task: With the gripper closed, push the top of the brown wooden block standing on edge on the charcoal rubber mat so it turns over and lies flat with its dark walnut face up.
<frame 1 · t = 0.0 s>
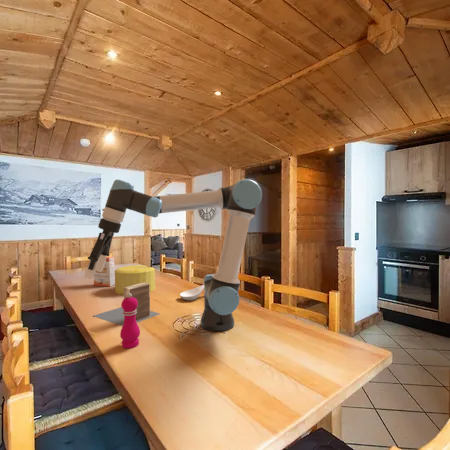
hand: (93, 274, 108), 28 cm above the table, tool tilted 20°, fingers open, 13 cm apart
cheese: (135, 290, 196), on the table
pepper mill: (130, 345, 111), on the table
spoon rest: (198, 298, 175), on the table
cracker box: (104, 285, 209), on the table
brown wooden block: (137, 318, 138), resting on mat
mat: (126, 315, 144), on the table
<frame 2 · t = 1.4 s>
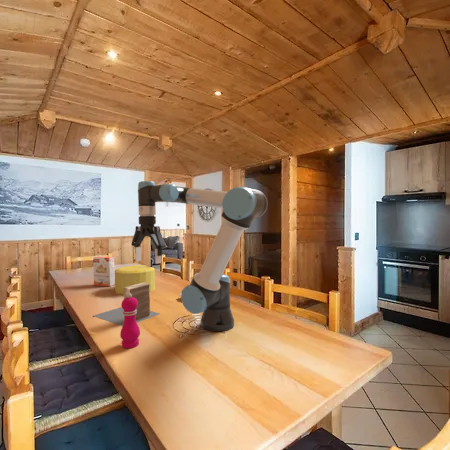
hand: (148, 262, 131), 29 cm above the table, tool pointing down, fingers open, 13 cm apart
nothing on the table moved.
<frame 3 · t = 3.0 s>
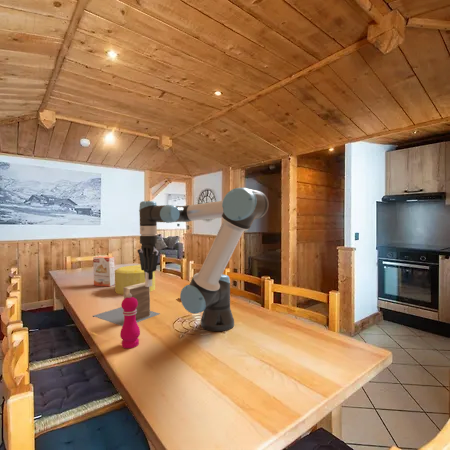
hand: (148, 286, 132), 17 cm above the table, tool pointing down, fingers closed
nothing on the table moved.
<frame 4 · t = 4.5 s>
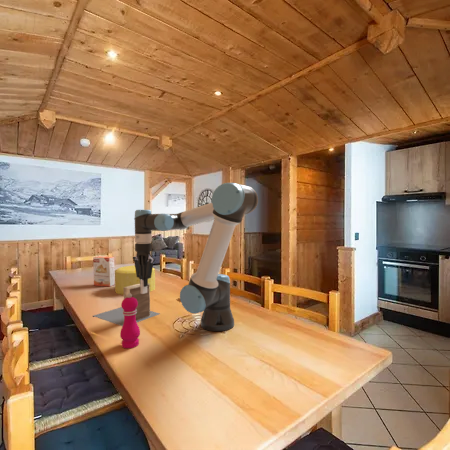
hand: (144, 293, 135), 14 cm above the table, tool pointing down, fingers closed
nothing on the table moved.
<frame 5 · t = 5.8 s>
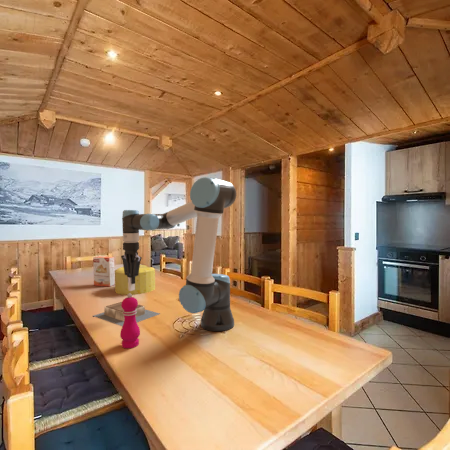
hand: (131, 290, 140), 14 cm above the table, tool pointing down, fingers closed
brown wooden block: (134, 313, 139), point 2 cm above the table, tilted 90°, touching mat
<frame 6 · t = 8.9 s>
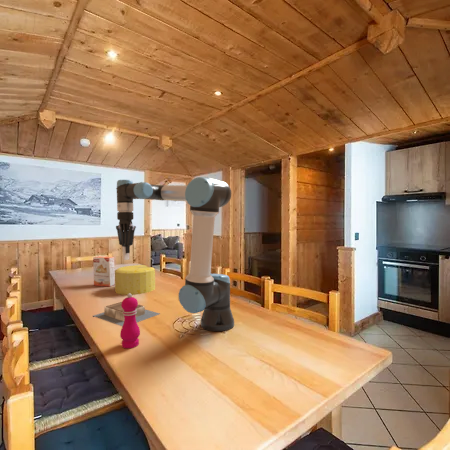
hand: (126, 259, 142), 28 cm above the table, tool pointing down, fingers closed
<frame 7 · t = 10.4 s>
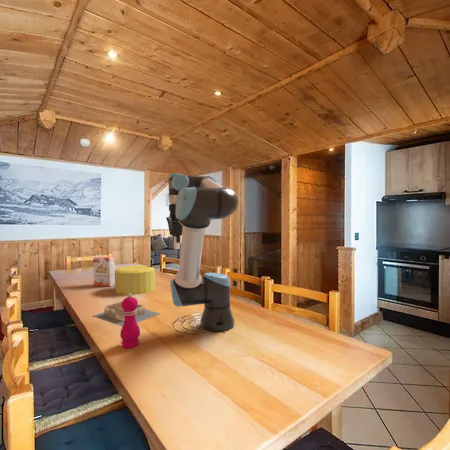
hand: (176, 248, 151), 32 cm above the table, tool pointing down, fingers closed
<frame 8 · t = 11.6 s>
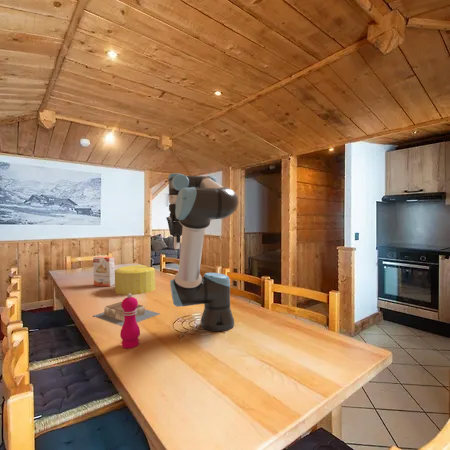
hand: (176, 248, 151), 32 cm above the table, tool pointing down, fingers closed
at the end: brown wooden block tilted 90°; brown wooden block touching mat; brown wooden block inside the target area (0.8 cm from its centre), point 2.5 cm above the table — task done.
